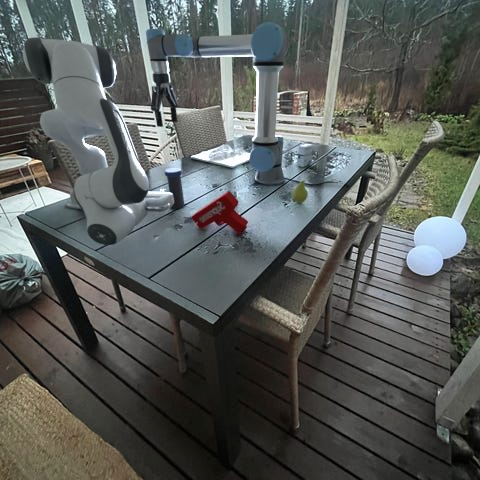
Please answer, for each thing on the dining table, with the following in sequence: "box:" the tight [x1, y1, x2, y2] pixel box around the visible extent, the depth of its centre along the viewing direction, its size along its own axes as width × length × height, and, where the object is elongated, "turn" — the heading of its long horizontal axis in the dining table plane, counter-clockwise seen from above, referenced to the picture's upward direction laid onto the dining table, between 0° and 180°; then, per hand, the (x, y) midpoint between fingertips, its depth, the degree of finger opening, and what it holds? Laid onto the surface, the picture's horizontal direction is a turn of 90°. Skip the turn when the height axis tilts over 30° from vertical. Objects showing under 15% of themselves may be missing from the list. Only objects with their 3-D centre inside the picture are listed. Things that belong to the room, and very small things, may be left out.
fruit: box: [291, 174, 311, 204], centre depth 118 cm, size 7×8×12 cm
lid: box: [164, 166, 182, 178], centre depth 111 cm, size 6×6×2 cm
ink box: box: [296, 143, 314, 168], centre depth 163 cm, size 8×5×12 cm, turn 135°
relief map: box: [190, 143, 250, 169], centre depth 179 cm, size 27×35×5 cm
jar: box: [166, 174, 185, 210], centre depth 115 cm, size 6×6×16 cm
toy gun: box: [190, 190, 249, 236], centre depth 99 cm, size 18×4×15 cm
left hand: (150, 191), depth 91 cm, fingers open, 8 cm apart
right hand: (167, 124), depth 132 cm, fingers open, 13 cm apart
